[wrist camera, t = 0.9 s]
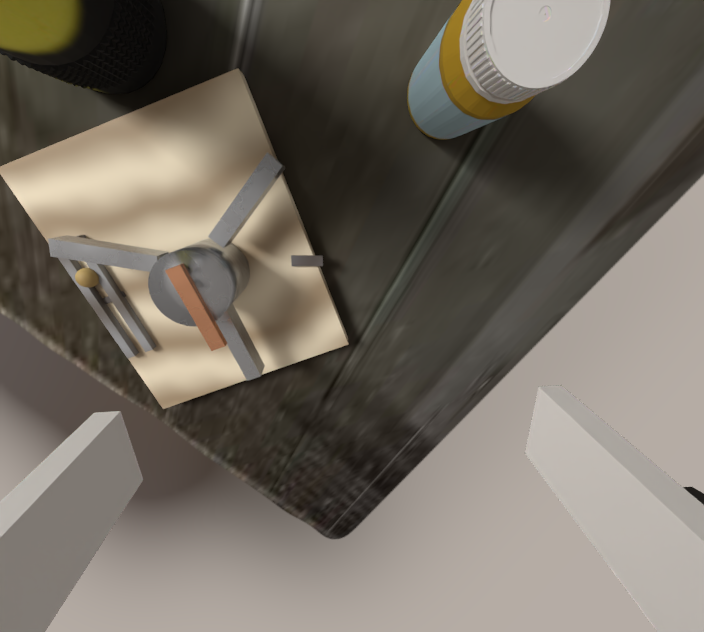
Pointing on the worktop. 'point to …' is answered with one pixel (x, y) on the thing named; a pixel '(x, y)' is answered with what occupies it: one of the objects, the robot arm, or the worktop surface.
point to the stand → (182, 232)
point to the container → (86, 40)
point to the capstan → (195, 271)
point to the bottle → (499, 60)
